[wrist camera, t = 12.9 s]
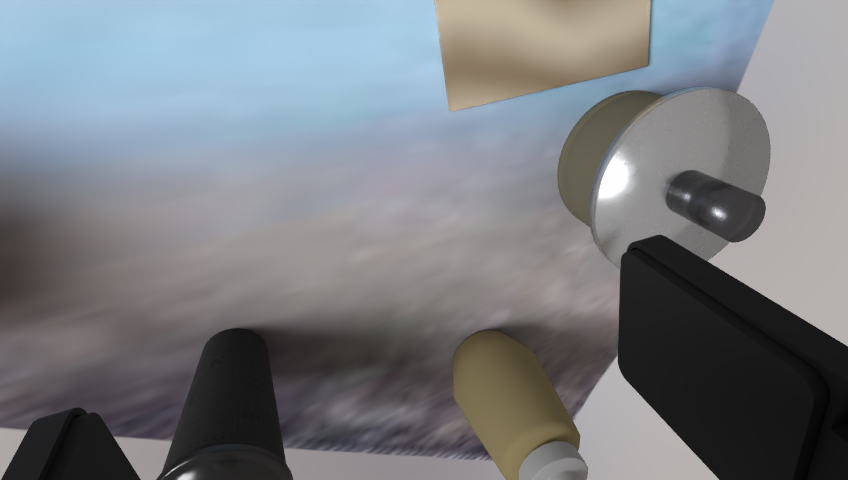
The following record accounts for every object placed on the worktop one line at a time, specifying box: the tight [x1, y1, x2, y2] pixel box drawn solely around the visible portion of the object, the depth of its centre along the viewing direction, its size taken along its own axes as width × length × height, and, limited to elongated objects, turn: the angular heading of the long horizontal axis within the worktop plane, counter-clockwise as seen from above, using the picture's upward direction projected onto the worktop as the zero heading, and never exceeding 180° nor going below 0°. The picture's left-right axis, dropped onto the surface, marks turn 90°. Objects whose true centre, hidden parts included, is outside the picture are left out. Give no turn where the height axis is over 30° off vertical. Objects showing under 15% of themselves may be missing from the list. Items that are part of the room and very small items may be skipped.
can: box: [558, 91, 663, 227], centre depth 40 cm, size 12×12×7 cm
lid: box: [589, 87, 770, 269], centre depth 34 cm, size 14×14×6 cm
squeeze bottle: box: [453, 330, 588, 480], centre depth 40 cm, size 8×8×18 cm
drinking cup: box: [156, 329, 293, 480], centre depth 32 cm, size 8×8×20 cm
